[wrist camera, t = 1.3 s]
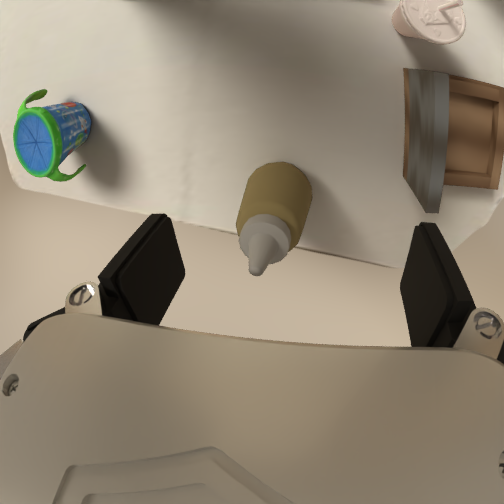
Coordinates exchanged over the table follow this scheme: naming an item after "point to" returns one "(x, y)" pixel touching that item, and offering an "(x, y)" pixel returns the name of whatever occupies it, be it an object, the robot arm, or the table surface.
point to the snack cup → (49, 136)
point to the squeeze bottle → (272, 214)
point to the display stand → (451, 134)
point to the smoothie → (430, 20)
